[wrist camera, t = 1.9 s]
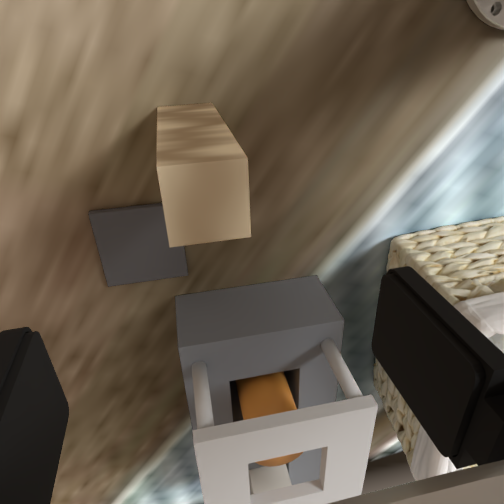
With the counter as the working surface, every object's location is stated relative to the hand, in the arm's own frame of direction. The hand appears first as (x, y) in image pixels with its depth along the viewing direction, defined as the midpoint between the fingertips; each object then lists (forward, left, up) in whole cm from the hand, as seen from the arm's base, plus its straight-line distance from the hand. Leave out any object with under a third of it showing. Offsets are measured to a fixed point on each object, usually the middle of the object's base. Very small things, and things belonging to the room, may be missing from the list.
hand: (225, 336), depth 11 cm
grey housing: (-4, +28, -23) cm, 36 cm away
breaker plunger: (-4, +23, -19) cm, 30 cm away
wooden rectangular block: (0, 0, -23) cm, 23 cm away
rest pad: (+5, +9, -23) cm, 25 cm away
